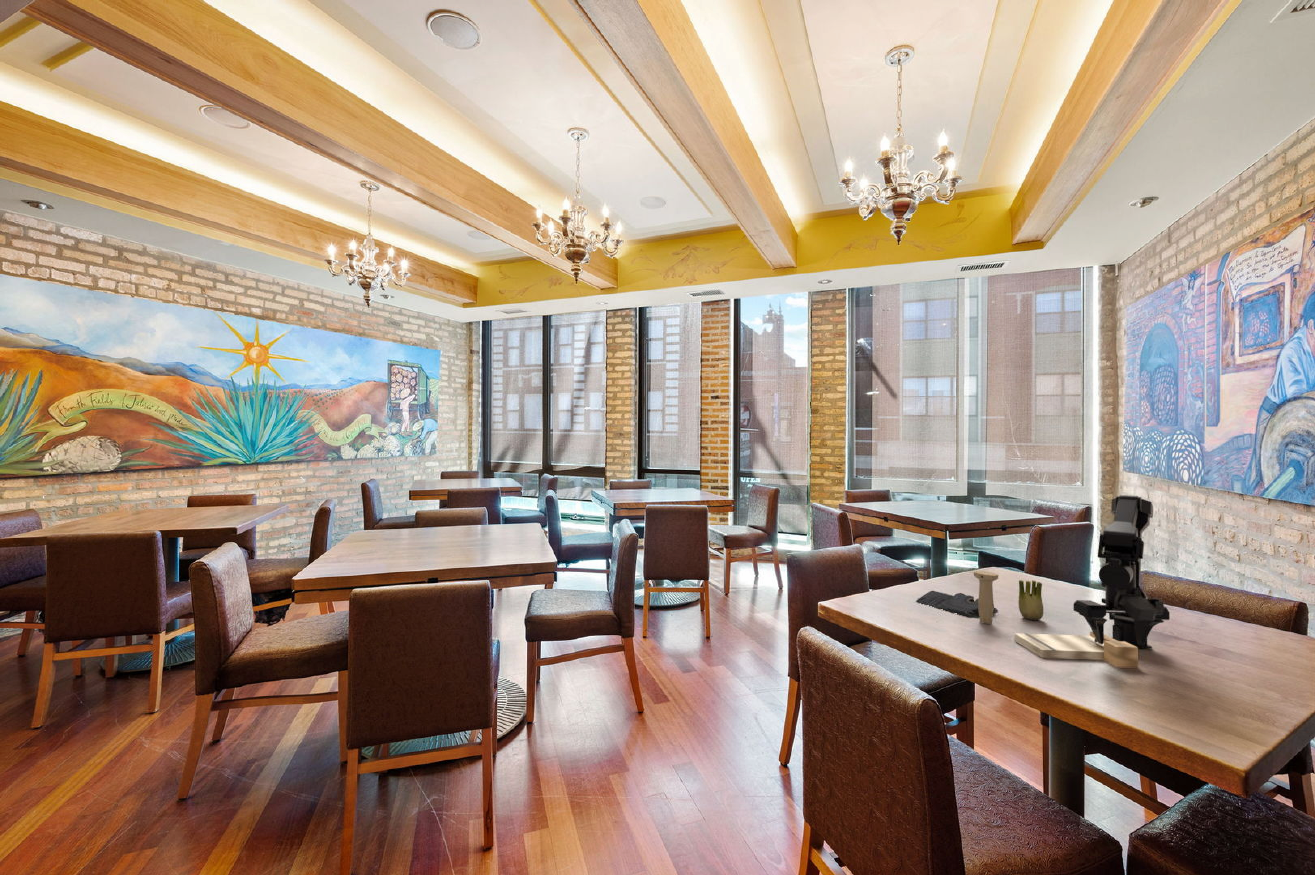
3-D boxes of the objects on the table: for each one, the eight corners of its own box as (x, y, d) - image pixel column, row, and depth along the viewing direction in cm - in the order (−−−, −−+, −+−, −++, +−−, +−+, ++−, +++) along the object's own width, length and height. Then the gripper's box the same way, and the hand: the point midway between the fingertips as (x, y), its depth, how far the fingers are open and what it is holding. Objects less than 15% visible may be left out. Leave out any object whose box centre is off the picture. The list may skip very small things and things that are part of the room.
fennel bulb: (1016, 617, 170) (1016, 579, 170) (1026, 615, 172) (1025, 577, 172) (1036, 623, 165) (1036, 583, 165) (1046, 620, 167) (1046, 581, 167)
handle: (993, 627, 160) (993, 576, 161) (970, 621, 166) (970, 572, 166) (1001, 624, 163) (1001, 574, 163) (978, 618, 168) (978, 570, 169)
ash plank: (1091, 643, 148) (1091, 635, 148) (1125, 660, 136) (1125, 652, 136) (1014, 640, 150) (1014, 633, 150) (1041, 657, 138) (1041, 649, 138)
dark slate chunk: (938, 597, 194) (938, 583, 194) (1003, 614, 175) (1003, 599, 175) (911, 603, 186) (911, 589, 186) (976, 621, 167) (976, 606, 167)
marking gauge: (1104, 651, 143) (1104, 631, 143) (1137, 668, 132) (1137, 647, 132) (1084, 650, 143) (1084, 631, 143) (1115, 667, 132) (1115, 646, 132)
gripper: (1104, 589, 127) (1104, 656, 127) (1190, 591, 125) (1190, 659, 125) (1071, 577, 138) (1072, 638, 138) (1150, 579, 136) (1150, 641, 136)
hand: (1120, 644), depth 134 cm, fingers open, 9 cm apart
